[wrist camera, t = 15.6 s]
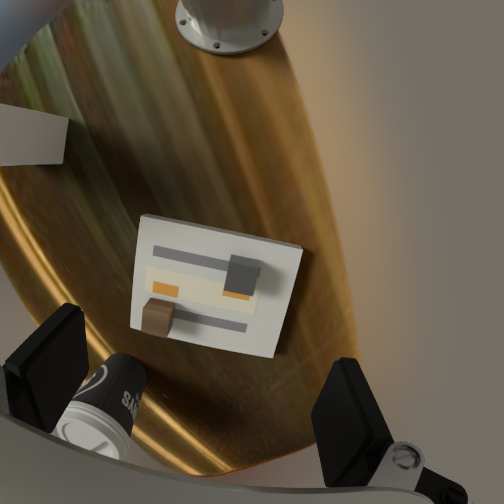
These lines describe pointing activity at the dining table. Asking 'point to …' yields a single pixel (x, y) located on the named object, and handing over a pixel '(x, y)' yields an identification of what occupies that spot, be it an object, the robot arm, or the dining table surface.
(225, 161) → the dining table surface
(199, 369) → the dining table surface
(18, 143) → the milk
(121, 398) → the coffee cup
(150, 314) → the walnut slider
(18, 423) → the robot arm
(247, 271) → the dark gray slider
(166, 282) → the switch panel
